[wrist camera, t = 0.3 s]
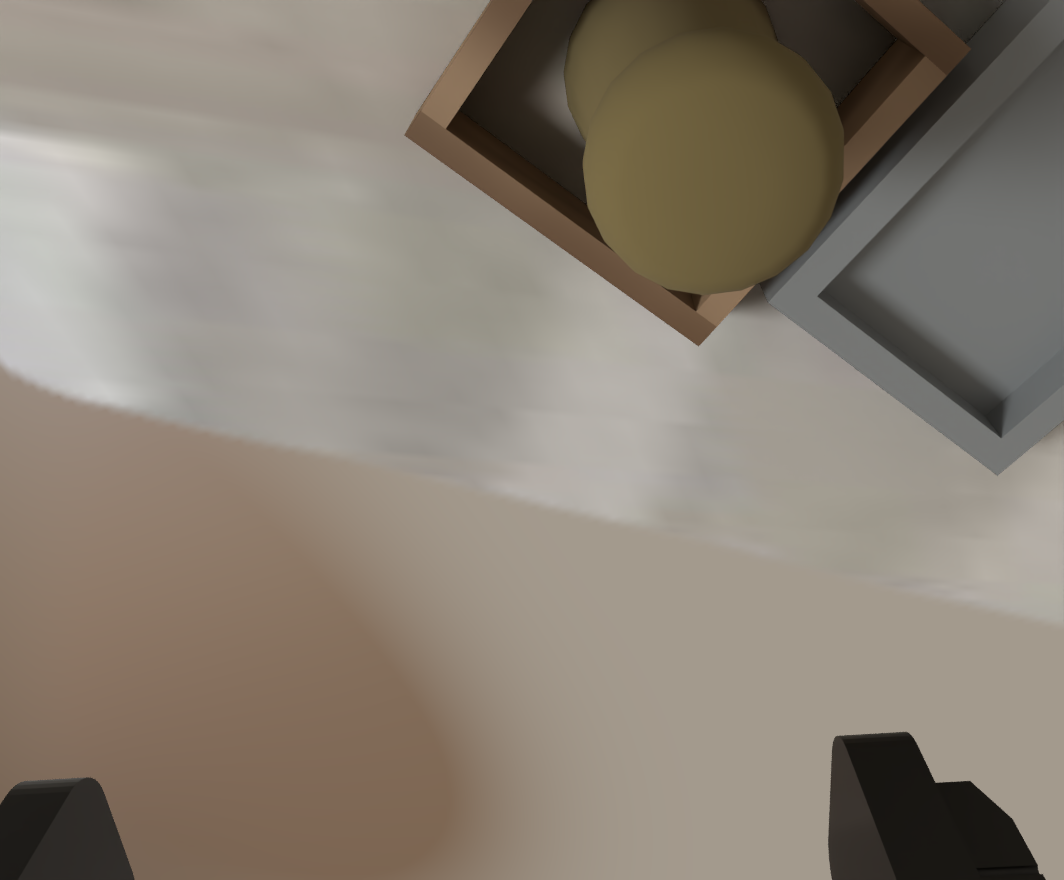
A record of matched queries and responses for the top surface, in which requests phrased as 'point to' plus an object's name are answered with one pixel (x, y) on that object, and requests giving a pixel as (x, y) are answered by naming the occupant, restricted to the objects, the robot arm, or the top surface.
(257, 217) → the top surface
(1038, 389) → the tray
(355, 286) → the top surface
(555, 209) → the socket block
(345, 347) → the top surface
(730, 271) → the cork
